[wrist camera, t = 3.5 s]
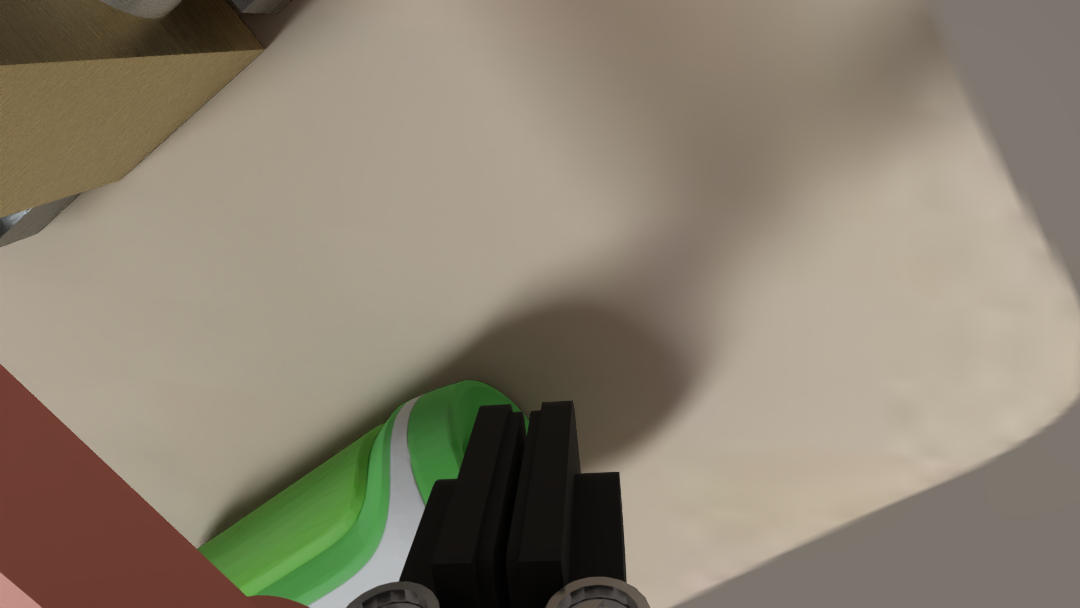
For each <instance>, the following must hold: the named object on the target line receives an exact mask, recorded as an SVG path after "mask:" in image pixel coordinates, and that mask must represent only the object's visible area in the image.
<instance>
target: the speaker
mask: <svg viewBox="0 0 1080 608" xmlns="http://www.w3.org/2000/svg"><path fill="white" fill-rule="evenodd" d="M502 404H511V406H512V409H513V412H520V411H521V410H520V409H519V408H518V407H517V406H516V405H515V404H514V403H513V402H512V401H511V400H510V399H509V398H508V397H506V396H505V395H504V394H503V393H501V392H500V391H498V390H497V389H495V388H493V387H491V386H489V385H487V384H485V383H482V382H479V381H475V380H465V381H461V382H458V383H454V384H451V385H448V386H445V387H441V388H438V389H435V390H433V391H430V392H428V393H426V394H423V395H421V396H419V397H416V398H414V399H411V400H409V401H407V402H405V403H403V404H402V405H400V406H399V407H398V408H397V409H396V410H395V411H394V412H393V413H392V414H391V416H390V417H389V419H388V420H387V422H386V423H383V424H381V425H379V426H377V427H375V428H374V429H372V430H371V431H369V432H368V433H366V434H365V435H363V436H362V437H361V438H359V439H358V440H356V441H355V442H353V443H352V444H350V445H349V446H347V447H346V448H345V449H343V450H342V451H340V452H339V453H337V454H336V455H334V456H333V457H331V458H330V459H329V460H327V461H326V462H324V463H323V464H321V465H320V466H318V467H317V468H315V469H314V470H313V471H311V472H310V473H308V474H307V475H305V476H304V477H302V478H301V479H299V480H298V481H296V482H295V483H294V484H292V485H291V486H289V487H288V488H286V489H285V490H283V491H282V492H280V493H279V494H277V495H276V496H275V497H273V498H272V499H270V500H269V501H267V502H266V503H264V504H263V505H261V506H260V507H258V508H257V509H255V510H254V511H252V512H251V513H250V514H248V515H247V516H245V517H244V518H242V519H241V520H239V521H238V522H237V523H235V524H234V525H232V526H231V527H229V528H228V529H226V530H225V531H223V532H222V533H220V534H219V535H217V536H216V537H214V538H213V539H211V540H210V541H208V542H207V543H205V544H204V545H202V546H201V547H199V548H198V549H197V550H198V551H199V552H200V553H201V554H203V555H204V556H205V557H206V558H207V559H208V560H209V561H210V562H211V563H212V564H213V565H214V566H215V567H216V568H217V569H218V570H220V571H221V572H222V573H223V574H224V575H225V576H226V577H227V578H228V579H229V580H230V581H231V582H232V583H233V584H234V585H235V586H236V587H238V588H239V589H240V590H241V591H242V592H243V593H244V594H245V595H246V596H247V597H248V596H256V595H270V596H277V597H282V598H287V599H290V600H293V601H296V602H299V603H301V604H303V605H306V606H308V607H310V608H346V607H347V606H348V605H349V603H351V602H352V601H353V600H355V599H356V598H357V597H358V596H360V595H361V594H362V593H364V592H366V591H368V590H370V589H372V588H374V587H376V586H379V585H383V584H387V583H391V582H398V581H399V578H400V576H401V573H402V570H403V567H404V565H405V562H406V559H407V556H408V553H409V551H410V548H411V545H412V542H413V540H414V537H415V534H416V531H417V529H418V526H419V523H420V520H421V517H422V515H423V512H424V509H425V506H426V504H427V501H428V498H429V495H430V493H431V490H432V487H433V485H434V483H435V481H437V480H438V479H457V477H458V474H459V470H460V467H461V464H462V461H463V458H464V454H465V451H466V448H467V445H468V442H469V439H470V435H471V432H472V429H473V426H474V423H475V419H476V416H477V413H478V410H479V407H480V406H483V405H502ZM523 414H524V413H523ZM524 419H525V427H526V434H527V431H528V425H529V419H528V418H527V417H526V415H525V414H524Z"/></svg>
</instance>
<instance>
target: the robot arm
mask: <svg viewBox="0 0 1080 608" xmlns="http://www.w3.org/2000/svg"><path fill="white" fill-rule="evenodd" d="M346 608H650V606H649V604H648V602H647V600H646V598H645V597H644V596H643V595H642V594H641V593H640V592H639V591H638V590H637V589H636V588H635V587H633V586H631V585H629V584H627V583H626V563H625V546H624V530H623V515H622V502H621V488H620V476H619V472H605V473H581V471H580V461H579V451H578V441H577V431H576V421H575V411H574V404H573V401H558V402H543V403H542V407H541V410H539V411H531V414H530V419H529V425H528V431H527V434H526V427H525V419H524V414H523V412H522V411H520V412H513V409H512V406H511V404H502V405H483V406H480V407H479V410H478V413H477V416H476V419H475V423H474V426H473V429H472V432H471V435H470V439H469V442H468V445H467V448H466V451H465V454H464V458H463V461H462V464H461V467H460V470H459V474H458V477H457V479H438V480H437V481H435V483H434V485H433V487H432V490H431V493H430V495H429V498H428V501H427V504H426V506H425V509H424V512H423V515H422V517H421V520H420V523H419V526H418V529H417V531H416V534H415V537H414V540H413V542H412V545H411V548H410V551H409V553H408V556H407V559H406V562H405V565H404V567H403V570H402V573H401V576H400V578H399V581H398V582H391V583H387V584H383V585H379V586H376V587H374V588H372V589H370V590H368V591H366V592H364V593H362V594H361V595H360V596H358V597H357V598H356V599H355V600H353V601H352V602H351V603H349V605H348V606H347V607H346Z"/></svg>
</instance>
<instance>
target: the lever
mask: <svg viewBox="0 0 1080 608" xmlns="http://www.w3.org/2000/svg"><path fill="white" fill-rule="evenodd" d="M0 608H310V607H308V606H306V605H303V604H301V603H299V602H296V601H293V600H290V599H287V598H282V597H277V596H270V595H256V596H248V597H247V596H246V595H245V594H244V593H243V592H242V591H241V590H240V589H239V588H238V587H236V586H235V585H234V584H233V583H232V582H231V581H230V580H229V579H228V578H227V577H226V576H225V575H224V574H223V573H222V572H221V571H220V570H218V569H217V568H216V567H215V566H214V565H213V564H212V563H211V562H210V561H209V560H208V559H207V558H206V557H205V556H204V555H203V554H201V553H200V552H199V551H198V550H197V549H196V548H195V547H194V546H193V545H192V544H191V543H190V542H189V541H188V540H187V539H186V538H184V537H183V536H182V535H181V534H180V533H179V532H178V531H177V530H176V529H175V528H174V527H173V526H172V525H171V524H170V523H169V522H167V521H166V520H165V519H164V518H163V517H162V516H161V515H160V514H159V513H158V512H157V511H156V510H155V509H154V508H153V507H152V506H150V505H149V504H148V503H147V502H146V501H145V500H144V499H143V498H142V497H141V496H140V495H139V494H138V493H137V492H136V491H135V490H134V489H132V488H131V487H130V486H129V485H128V484H127V483H126V482H125V481H124V480H123V479H122V478H121V477H120V476H119V475H118V474H117V473H115V472H114V471H113V470H112V469H111V468H110V467H109V466H108V465H107V464H106V463H105V462H104V461H103V460H102V459H101V458H100V457H98V456H97V455H96V454H95V453H94V452H93V451H92V450H91V449H90V448H89V447H88V446H87V445H86V444H85V443H84V442H83V441H81V440H80V439H79V438H78V437H77V436H76V435H75V434H74V433H73V432H72V431H71V430H70V429H69V428H68V427H67V426H66V425H64V424H63V423H62V422H61V421H60V420H59V419H58V418H57V417H56V416H55V415H54V414H53V413H52V412H51V411H50V410H49V409H47V408H46V407H45V406H44V405H43V404H42V403H41V402H40V401H39V400H38V399H37V398H36V397H35V396H34V395H33V394H32V393H31V392H29V391H28V390H27V389H26V388H25V387H24V386H23V385H22V384H21V383H20V382H19V381H18V380H17V379H16V378H15V377H14V376H12V375H11V374H10V373H9V372H8V371H7V370H6V369H5V368H4V367H3V366H2V365H1V364H0Z"/></svg>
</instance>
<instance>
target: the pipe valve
mask: <svg viewBox="0 0 1080 608" xmlns="http://www.w3.org/2000/svg"><path fill="white" fill-rule="evenodd" d="M232 1H233V3H234V4H235V5H236V6H237V8H238V9H239V10H240V11H241V13H261V14H277V13H279V12H280V11H281V10H282V9H283V8H284V7H285V6H286V5H287V4H288V3H290V2H291V1H292V0H232ZM264 50H265V49H264V47H263V46H262V45H261V44H260V42H259V41H258V40H257V39H256V37H255V36H254V35H253V34H252V32H251V31H250V30H249V29H248V27H247V26H246V25H245V24H244V22H243V21H242V20H241V19H240V17H239V16H238V15H237V14H236V12H235V11H234V10H233V9H232V7H231V6H230V5H229V4H228V2H227V1H226V0H0V247H2V246H5V245H8V244H11V243H13V242H16V241H19V240H22V239H24V238H27V237H30V236H33V235H35V234H37V233H38V232H39V231H40V230H41V229H43V228H44V227H45V226H46V225H47V224H48V223H49V222H50V221H51V220H52V219H53V218H55V217H56V216H57V215H58V214H59V213H60V212H61V211H62V210H63V209H64V208H65V207H67V206H68V205H69V204H70V203H71V202H72V201H73V200H74V199H75V198H76V197H77V196H79V195H80V194H81V193H82V192H84V191H87V190H90V189H94V188H97V187H100V186H103V185H106V184H109V183H113V182H116V181H119V180H121V179H122V178H123V177H124V176H125V175H126V174H127V173H128V172H130V171H131V170H132V169H133V168H134V167H135V166H136V165H137V164H138V163H140V162H141V161H142V160H143V159H144V158H145V157H146V156H147V155H148V154H149V153H151V152H152V151H153V150H154V149H155V148H156V147H157V146H158V145H159V144H161V143H162V142H163V141H164V140H165V139H166V138H167V137H168V136H169V135H171V134H172V133H173V132H174V131H175V130H176V129H177V128H178V127H179V126H181V125H182V124H183V123H184V122H185V121H186V120H187V119H188V118H189V117H191V116H192V115H193V114H194V113H195V112H196V111H197V110H198V109H199V108H201V107H202V106H203V105H204V104H205V103H206V102H207V101H208V100H209V99H211V98H212V97H213V96H214V95H215V94H216V93H217V92H218V91H219V90H221V89H222V88H223V87H224V86H225V85H226V84H227V83H228V82H229V81H231V80H232V79H233V78H234V77H235V76H236V75H237V74H238V73H239V72H241V71H242V70H243V69H244V68H245V67H246V66H247V65H248V64H249V63H251V62H252V61H253V60H254V59H255V58H256V57H257V56H258V55H259V54H261V53H262V52H263V51H264Z"/></svg>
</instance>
